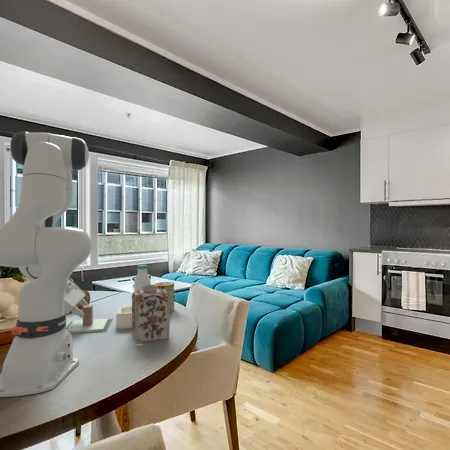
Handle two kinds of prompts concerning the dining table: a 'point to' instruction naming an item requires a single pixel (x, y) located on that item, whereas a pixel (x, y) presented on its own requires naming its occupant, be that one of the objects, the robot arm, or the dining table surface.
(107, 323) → the mat
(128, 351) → the dining table surface
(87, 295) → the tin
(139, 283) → the milk bottle
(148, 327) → the decorative jar
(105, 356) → the dining table surface
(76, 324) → the lid
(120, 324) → the dish
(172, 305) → the yellow labeled can
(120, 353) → the dining table surface
